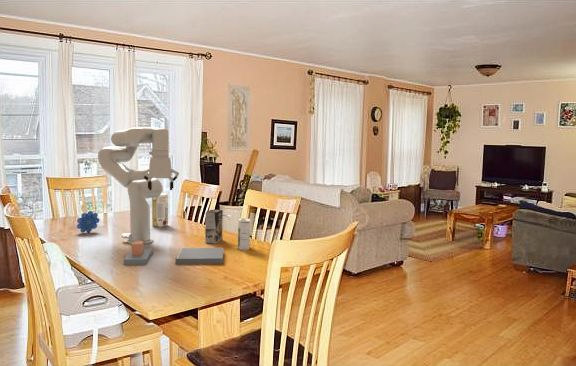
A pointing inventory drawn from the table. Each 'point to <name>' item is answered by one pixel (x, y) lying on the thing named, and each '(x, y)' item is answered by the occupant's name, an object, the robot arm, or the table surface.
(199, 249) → the board
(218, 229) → the coffee box
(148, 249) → the stub
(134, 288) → the table surface
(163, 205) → the juice carton
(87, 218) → the grapes
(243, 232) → the syrup box
